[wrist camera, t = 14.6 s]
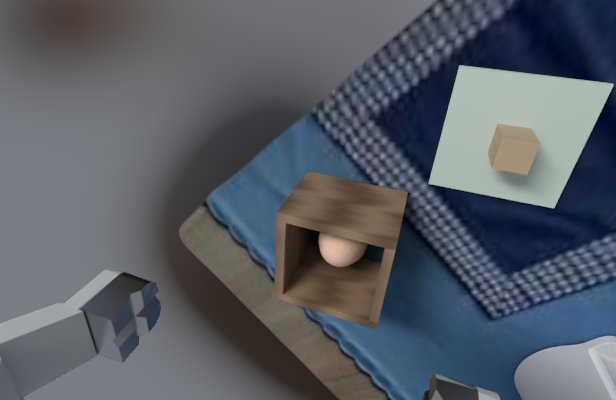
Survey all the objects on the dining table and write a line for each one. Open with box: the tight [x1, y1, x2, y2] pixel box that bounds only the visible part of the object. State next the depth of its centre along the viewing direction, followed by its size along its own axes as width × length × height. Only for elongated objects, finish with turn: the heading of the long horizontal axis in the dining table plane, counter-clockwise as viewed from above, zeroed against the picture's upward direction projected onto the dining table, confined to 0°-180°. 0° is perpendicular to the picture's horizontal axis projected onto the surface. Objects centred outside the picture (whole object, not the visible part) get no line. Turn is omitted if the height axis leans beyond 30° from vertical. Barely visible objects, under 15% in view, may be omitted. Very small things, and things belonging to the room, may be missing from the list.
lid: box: [429, 65, 614, 208], centre depth 34 cm, size 12×12×5 cm
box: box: [274, 171, 408, 329], centre depth 42 cm, size 12×12×10 cm
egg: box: [319, 232, 368, 267], centre depth 43 cm, size 6×6×8 cm
